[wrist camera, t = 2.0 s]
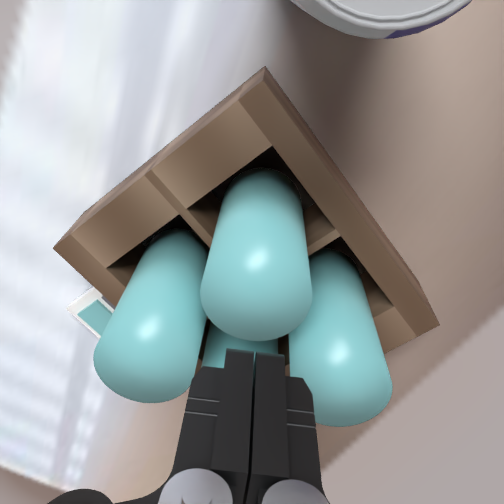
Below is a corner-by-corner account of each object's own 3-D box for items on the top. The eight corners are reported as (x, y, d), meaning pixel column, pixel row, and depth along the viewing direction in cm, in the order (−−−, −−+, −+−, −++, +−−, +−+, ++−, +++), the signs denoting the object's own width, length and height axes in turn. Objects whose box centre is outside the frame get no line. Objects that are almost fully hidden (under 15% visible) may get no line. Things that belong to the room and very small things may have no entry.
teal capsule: (270, 151, 21) (267, 225, 14) (317, 212, 22) (334, 307, 15) (206, 197, 22) (176, 286, 15) (254, 253, 23) (246, 357, 17)
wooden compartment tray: (265, 65, 21) (262, 79, 18) (417, 280, 26) (439, 325, 23) (83, 212, 25) (52, 248, 22) (246, 376, 30) (242, 426, 27)
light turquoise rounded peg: (250, 287, 24) (239, 398, 17) (291, 334, 25) (296, 453, 19) (196, 321, 25) (167, 437, 19) (238, 364, 27) (226, 486, 20)
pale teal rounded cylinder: (184, 214, 22) (145, 307, 16) (232, 268, 24) (215, 375, 17) (129, 254, 23) (72, 356, 17) (178, 303, 25) (142, 416, 18)
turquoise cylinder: (333, 234, 22) (357, 335, 16) (373, 287, 24) (411, 400, 17) (272, 273, 24) (270, 382, 17) (313, 321, 25) (326, 439, 18)
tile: (122, 264, 27) (118, 272, 26) (203, 344, 29) (201, 353, 28) (70, 303, 28) (64, 311, 27) (151, 376, 31) (148, 385, 30)
